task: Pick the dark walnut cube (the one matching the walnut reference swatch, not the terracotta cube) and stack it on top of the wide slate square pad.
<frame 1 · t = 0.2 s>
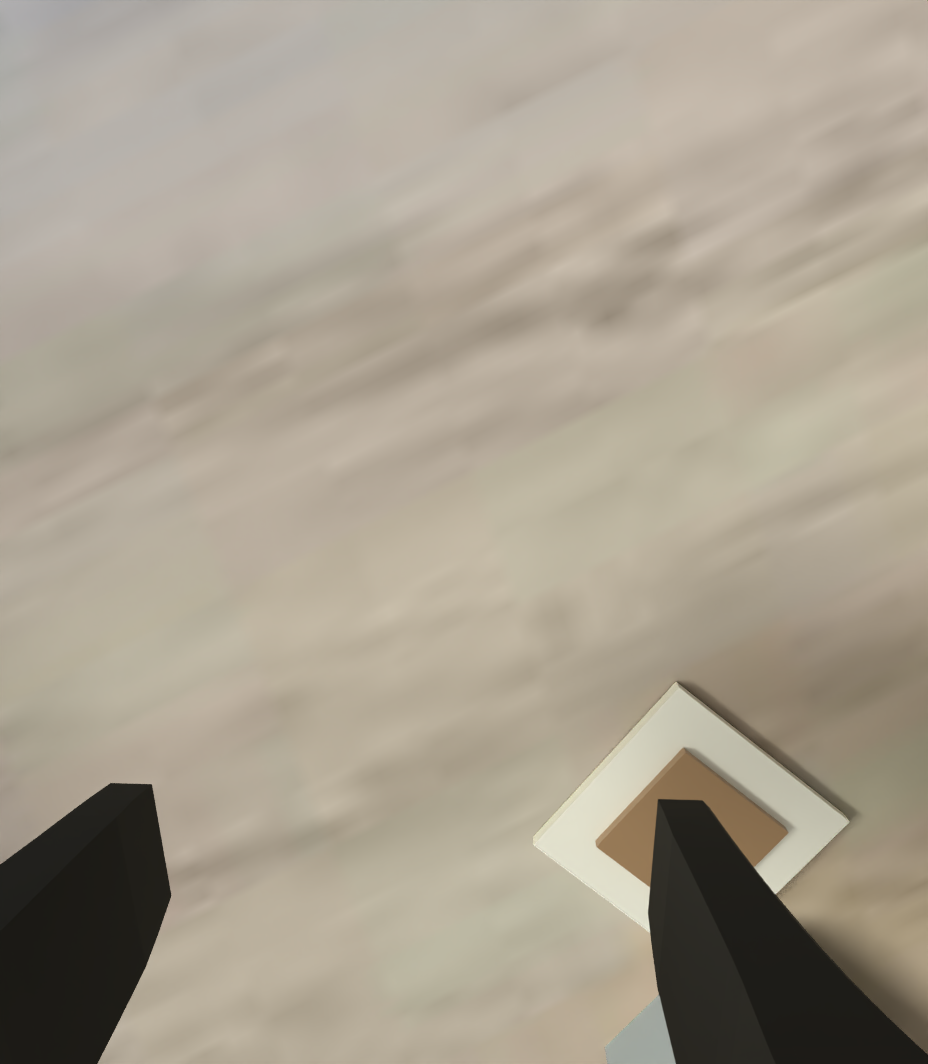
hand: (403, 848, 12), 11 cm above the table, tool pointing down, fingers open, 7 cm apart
reference swatch: (686, 825, 23), on the table
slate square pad: (748, 1032, 25), on the table
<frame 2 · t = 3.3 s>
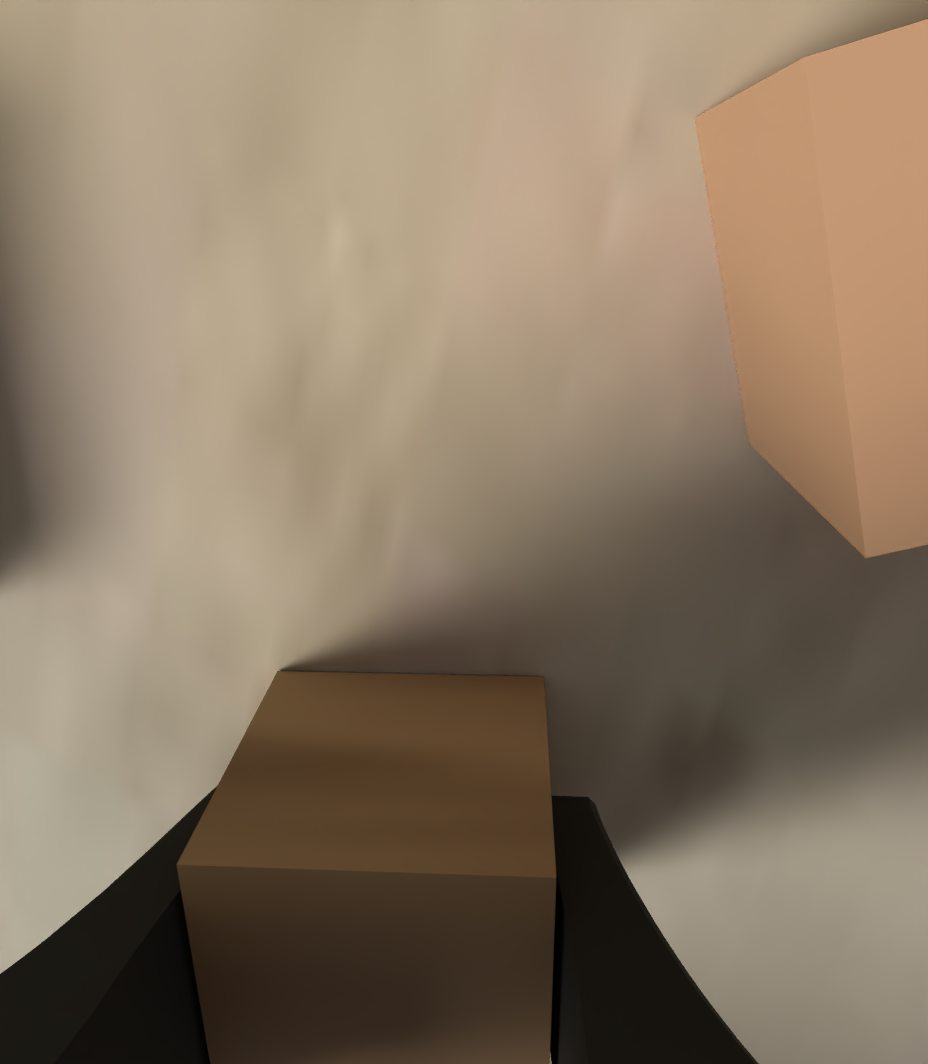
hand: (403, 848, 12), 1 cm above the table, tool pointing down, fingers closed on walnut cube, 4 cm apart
terracotta cube: (888, 245, 10), on the table
walnut cube: (413, 784, 13), on the table, touching gripper
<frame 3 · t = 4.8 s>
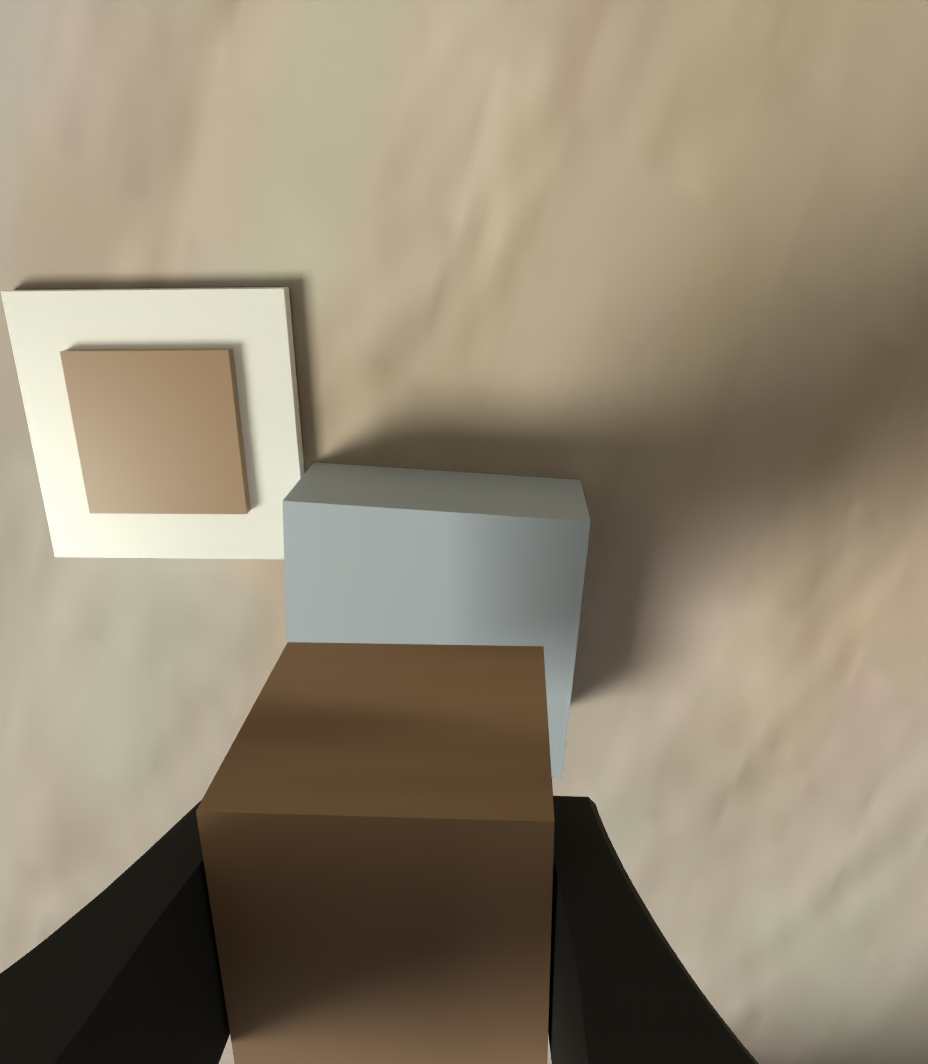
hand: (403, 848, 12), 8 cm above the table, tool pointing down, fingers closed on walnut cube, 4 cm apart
reference swatch: (168, 427, 19), on the table
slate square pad: (441, 587, 20), on the table
walnut cube: (418, 752, 14), point 6 cm above the table, touching gripper
when the fingers open (6 cm above the table, at t = 6.2 s): walnut cube stays where it is, resting on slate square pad.
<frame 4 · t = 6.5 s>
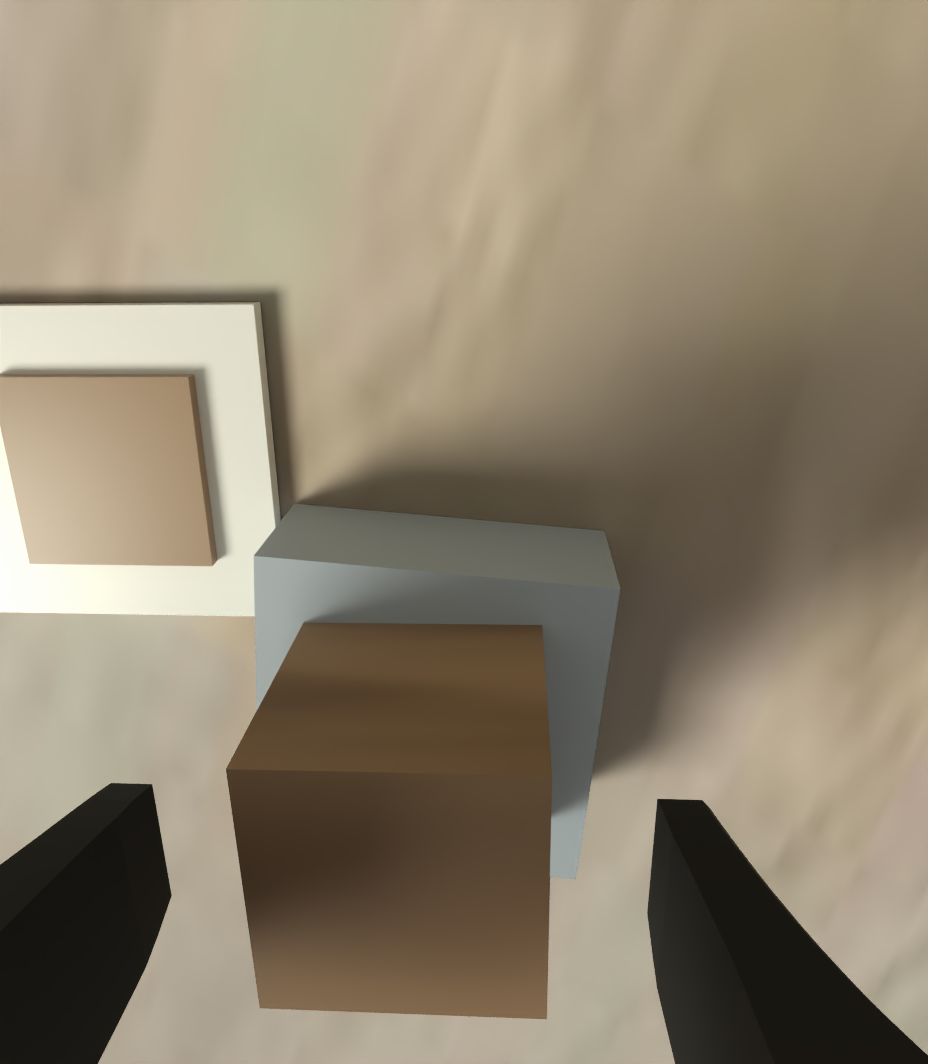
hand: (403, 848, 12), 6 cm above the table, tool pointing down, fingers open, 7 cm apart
reference swatch: (121, 464, 16), on the table
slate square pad: (440, 646, 17), on the table, touching walnut cube
walnut cube: (425, 726, 15), point 3 cm above the table, touching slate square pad
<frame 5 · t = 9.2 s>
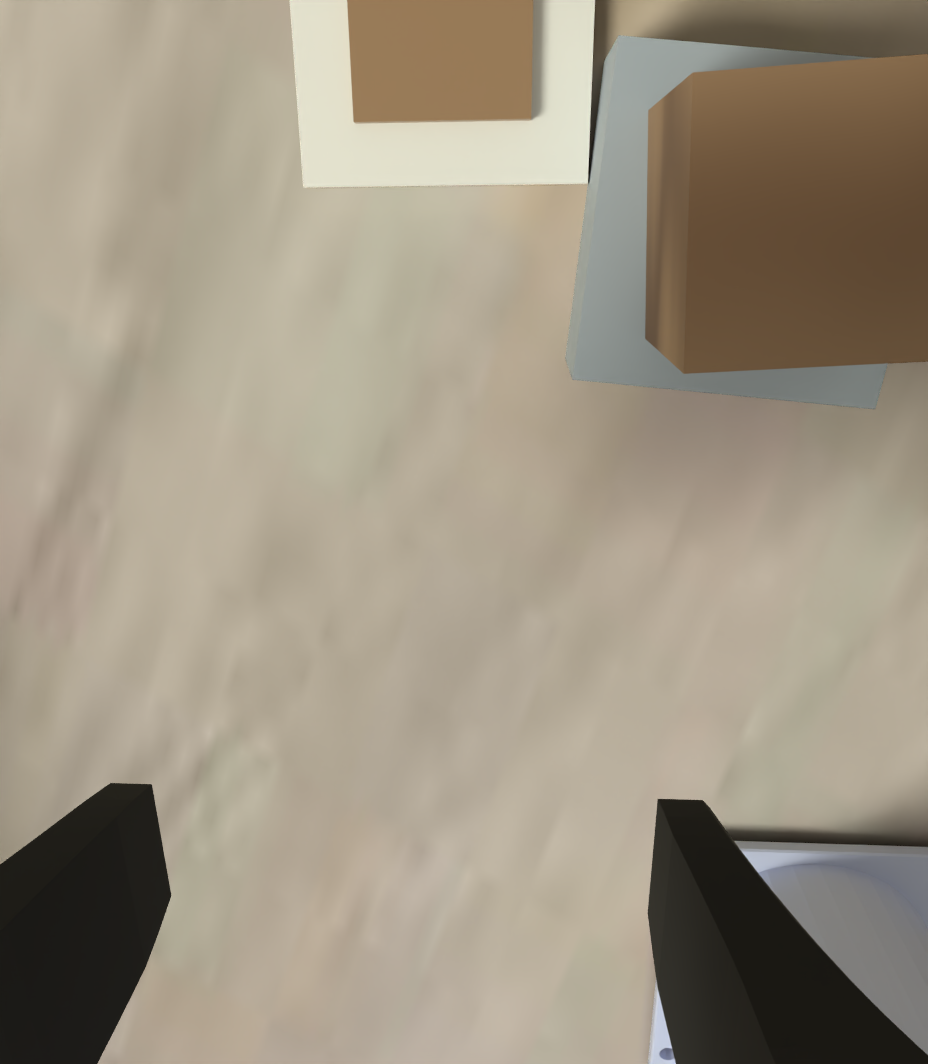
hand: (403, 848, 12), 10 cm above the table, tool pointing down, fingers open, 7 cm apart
reference swatch: (442, 25, 17), on the table
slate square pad: (718, 231, 18), on the table, touching walnut cube
walnut cube: (756, 222, 15), point 3 cm above the table, touching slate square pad
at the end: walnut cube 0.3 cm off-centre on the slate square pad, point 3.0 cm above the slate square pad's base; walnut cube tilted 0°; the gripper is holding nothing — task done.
